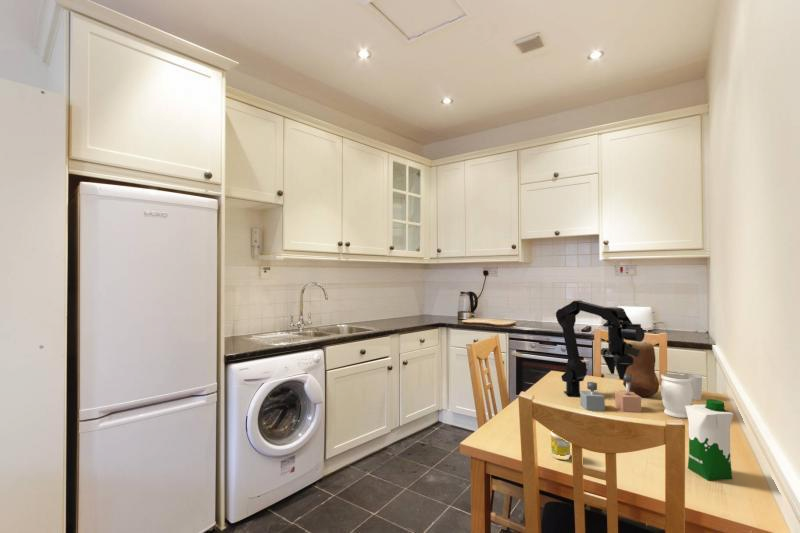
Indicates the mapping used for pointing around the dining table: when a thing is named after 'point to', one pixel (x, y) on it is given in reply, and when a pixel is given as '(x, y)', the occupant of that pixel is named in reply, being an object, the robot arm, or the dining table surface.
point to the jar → (676, 394)
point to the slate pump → (592, 386)
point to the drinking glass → (696, 386)
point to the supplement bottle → (559, 446)
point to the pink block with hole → (628, 402)
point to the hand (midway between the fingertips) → (616, 376)
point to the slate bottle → (592, 401)
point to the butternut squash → (643, 370)
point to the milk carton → (710, 440)
